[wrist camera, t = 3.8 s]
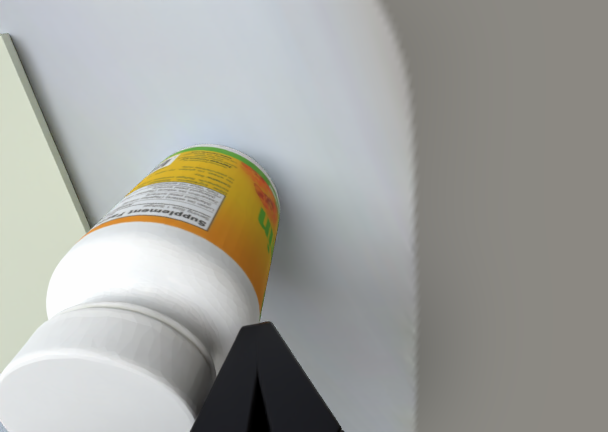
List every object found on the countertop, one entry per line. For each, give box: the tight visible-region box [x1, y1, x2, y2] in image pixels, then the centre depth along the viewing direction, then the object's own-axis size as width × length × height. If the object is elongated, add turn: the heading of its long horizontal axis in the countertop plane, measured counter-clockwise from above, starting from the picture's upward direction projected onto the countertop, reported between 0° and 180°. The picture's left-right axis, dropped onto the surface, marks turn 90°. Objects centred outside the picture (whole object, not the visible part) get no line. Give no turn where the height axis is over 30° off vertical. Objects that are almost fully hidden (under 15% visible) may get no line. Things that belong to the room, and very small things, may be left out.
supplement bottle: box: [0, 144, 280, 432], centre depth 12 cm, size 5×5×10 cm
